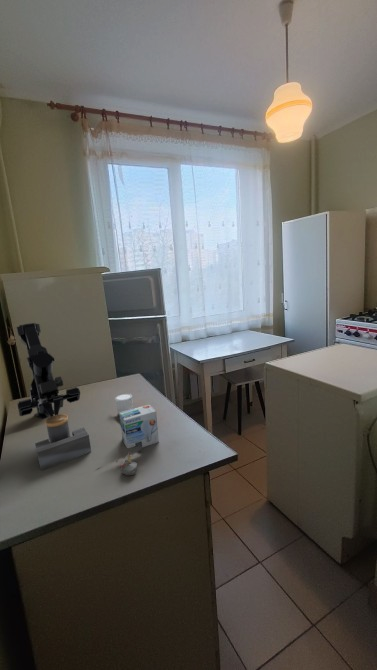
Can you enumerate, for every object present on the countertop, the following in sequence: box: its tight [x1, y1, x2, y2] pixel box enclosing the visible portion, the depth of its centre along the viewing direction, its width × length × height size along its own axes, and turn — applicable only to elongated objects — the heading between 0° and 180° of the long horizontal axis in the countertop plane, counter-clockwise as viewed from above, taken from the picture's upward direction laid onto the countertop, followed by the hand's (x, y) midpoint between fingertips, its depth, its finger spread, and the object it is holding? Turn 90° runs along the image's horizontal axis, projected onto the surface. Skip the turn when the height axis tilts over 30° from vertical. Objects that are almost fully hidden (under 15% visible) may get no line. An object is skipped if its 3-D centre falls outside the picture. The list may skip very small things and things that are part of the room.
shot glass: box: [114, 393, 134, 417], centre depth 117 cm, size 7×7×7 cm
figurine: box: [120, 450, 138, 476], centre depth 81 cm, size 5×4×6 cm
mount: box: [34, 427, 92, 471], centre depth 93 cm, size 18×16×7 cm
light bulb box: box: [119, 404, 160, 449], centre depth 95 cm, size 11×7×11 cm, turn 118°
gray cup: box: [44, 413, 71, 444], centre depth 92 cm, size 6×6×10 cm
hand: (56, 424), depth 95 cm, fingers closed, pressing on gray cup
